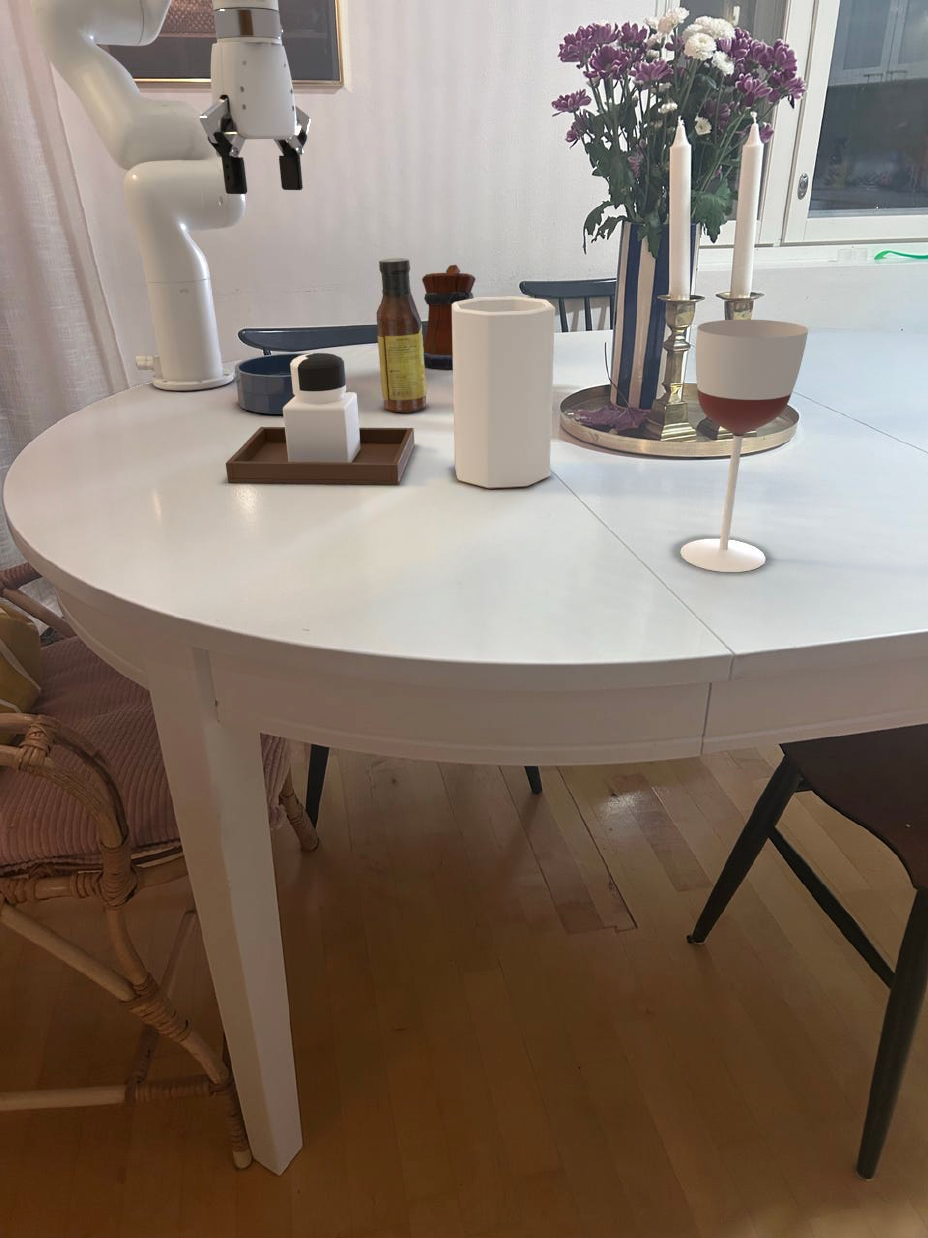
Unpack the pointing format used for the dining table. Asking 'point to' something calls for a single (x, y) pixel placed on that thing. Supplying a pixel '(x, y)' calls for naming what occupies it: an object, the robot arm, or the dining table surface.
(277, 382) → the bowl
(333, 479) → the tray
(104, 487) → the dining table surface
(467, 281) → the wooden pepper grinder
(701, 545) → the wineglass
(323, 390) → the medicine bottle
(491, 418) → the cup
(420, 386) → the sauce bottle
